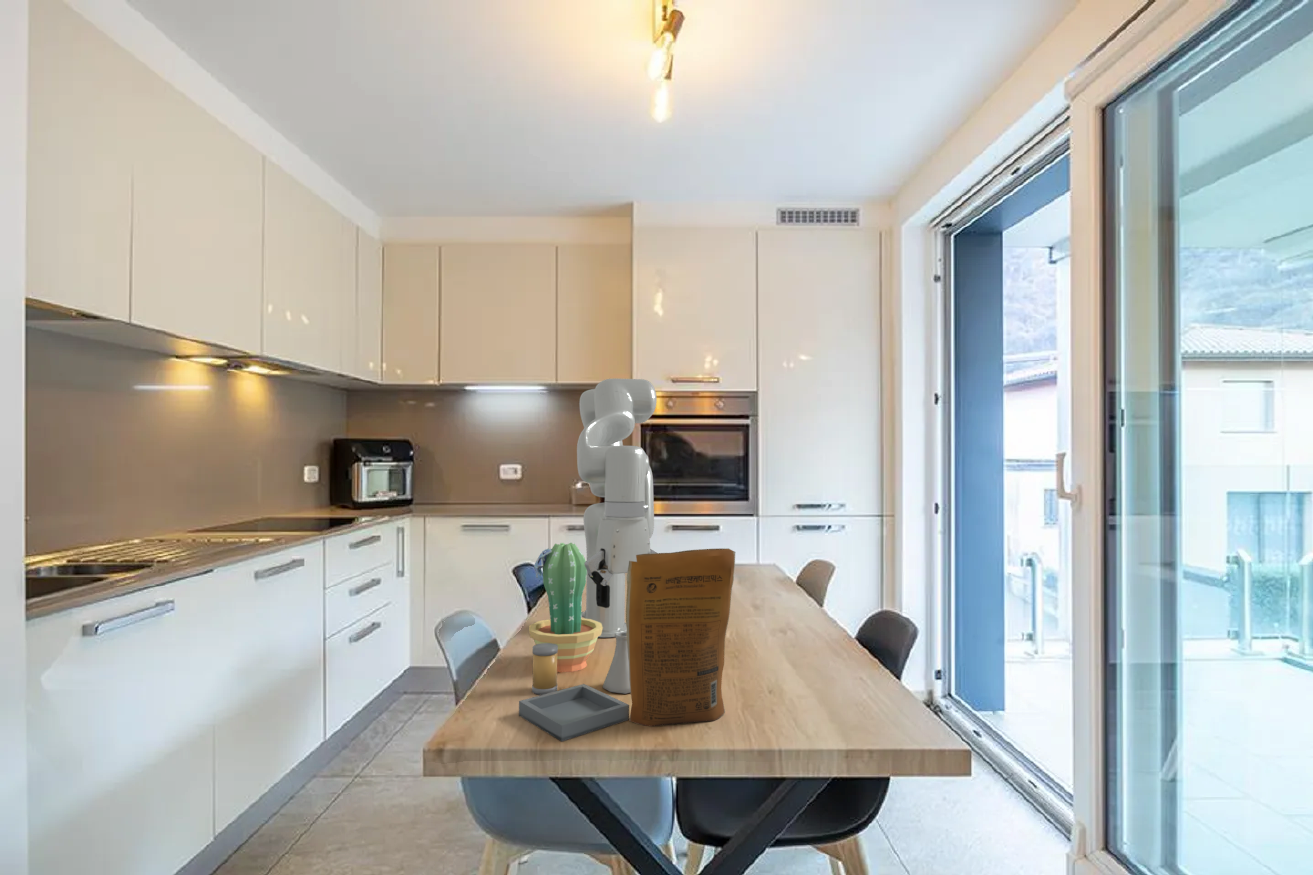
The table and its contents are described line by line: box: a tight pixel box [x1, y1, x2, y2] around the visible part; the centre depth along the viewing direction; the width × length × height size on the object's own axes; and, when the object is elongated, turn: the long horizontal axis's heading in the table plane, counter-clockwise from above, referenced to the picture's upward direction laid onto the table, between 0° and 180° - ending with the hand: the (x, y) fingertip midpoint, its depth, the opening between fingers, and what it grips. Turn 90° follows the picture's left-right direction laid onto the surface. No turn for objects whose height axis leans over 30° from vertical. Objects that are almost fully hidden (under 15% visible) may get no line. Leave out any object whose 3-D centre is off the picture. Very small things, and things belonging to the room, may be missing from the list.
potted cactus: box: [528, 542, 603, 673], centre depth 136 cm, size 15×15×25 cm
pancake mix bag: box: [625, 548, 736, 727], centre depth 108 cm, size 7×19×28 cm, turn 104°
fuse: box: [531, 643, 558, 696], centre depth 121 cm, size 5×5×8 cm
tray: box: [518, 683, 630, 743], centre depth 108 cm, size 13×13×2 cm
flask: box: [602, 632, 631, 695], centre depth 123 cm, size 7×7×10 cm
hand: (624, 603), depth 122 cm, fingers open, 9 cm apart
